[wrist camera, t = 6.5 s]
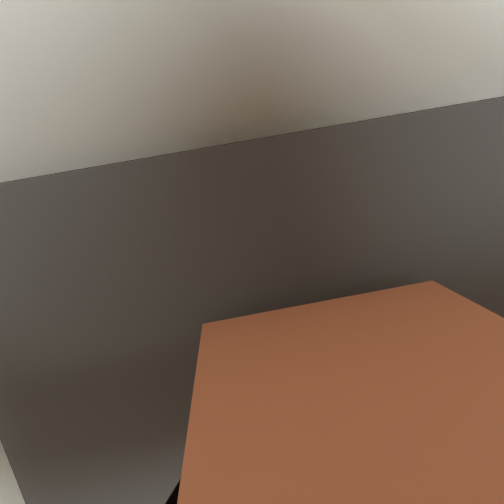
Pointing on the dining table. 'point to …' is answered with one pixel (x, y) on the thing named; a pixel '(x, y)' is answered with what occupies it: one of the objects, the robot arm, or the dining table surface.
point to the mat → (216, 275)
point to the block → (350, 403)
